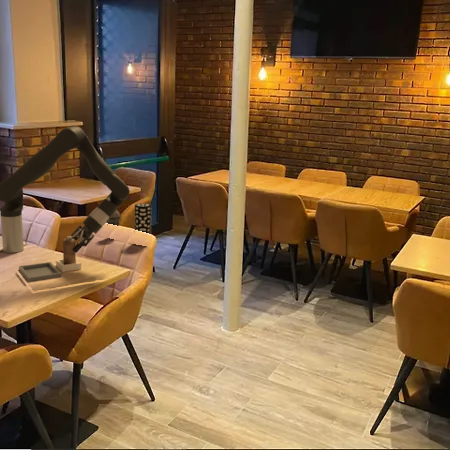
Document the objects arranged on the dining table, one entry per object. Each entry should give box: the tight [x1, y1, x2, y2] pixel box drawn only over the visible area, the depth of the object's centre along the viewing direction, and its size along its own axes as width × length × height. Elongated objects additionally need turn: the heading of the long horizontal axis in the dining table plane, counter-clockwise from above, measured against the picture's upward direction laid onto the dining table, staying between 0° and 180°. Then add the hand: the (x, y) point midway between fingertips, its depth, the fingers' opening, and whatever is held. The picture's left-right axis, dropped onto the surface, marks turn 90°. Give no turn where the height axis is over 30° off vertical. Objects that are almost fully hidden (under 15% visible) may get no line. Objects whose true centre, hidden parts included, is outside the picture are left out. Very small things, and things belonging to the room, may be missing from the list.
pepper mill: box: [62, 235, 77, 265], centre depth 220 cm, size 5×5×13 cm
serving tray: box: [18, 261, 63, 283], centre depth 213 cm, size 16×13×2 cm
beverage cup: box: [106, 209, 121, 227], centre depth 269 cm, size 7×7×20 cm
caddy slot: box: [55, 258, 82, 273], centre depth 221 cm, size 9×8×4 cm
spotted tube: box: [134, 202, 152, 235], centre depth 262 cm, size 8×8×20 cm
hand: (70, 248), depth 220 cm, fingers open, 8 cm apart
